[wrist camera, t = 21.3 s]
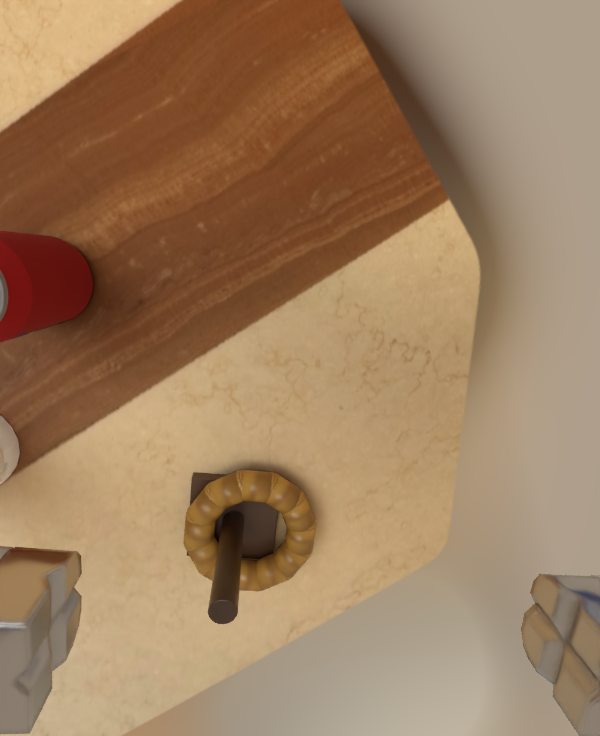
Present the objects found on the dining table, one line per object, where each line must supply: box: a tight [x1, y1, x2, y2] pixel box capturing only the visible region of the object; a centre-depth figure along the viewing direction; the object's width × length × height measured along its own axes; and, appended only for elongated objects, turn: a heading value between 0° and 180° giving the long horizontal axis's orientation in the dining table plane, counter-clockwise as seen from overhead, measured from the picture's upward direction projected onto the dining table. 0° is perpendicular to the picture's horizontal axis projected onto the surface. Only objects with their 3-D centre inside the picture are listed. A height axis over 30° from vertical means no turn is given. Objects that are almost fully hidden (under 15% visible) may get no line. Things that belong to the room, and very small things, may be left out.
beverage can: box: [0, 231, 93, 342], centre depth 30 cm, size 7×7×12 cm
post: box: [187, 473, 278, 624], centre depth 36 cm, size 8×8×12 cm
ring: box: [184, 470, 317, 591], centre depth 40 cm, size 12×12×3 cm
